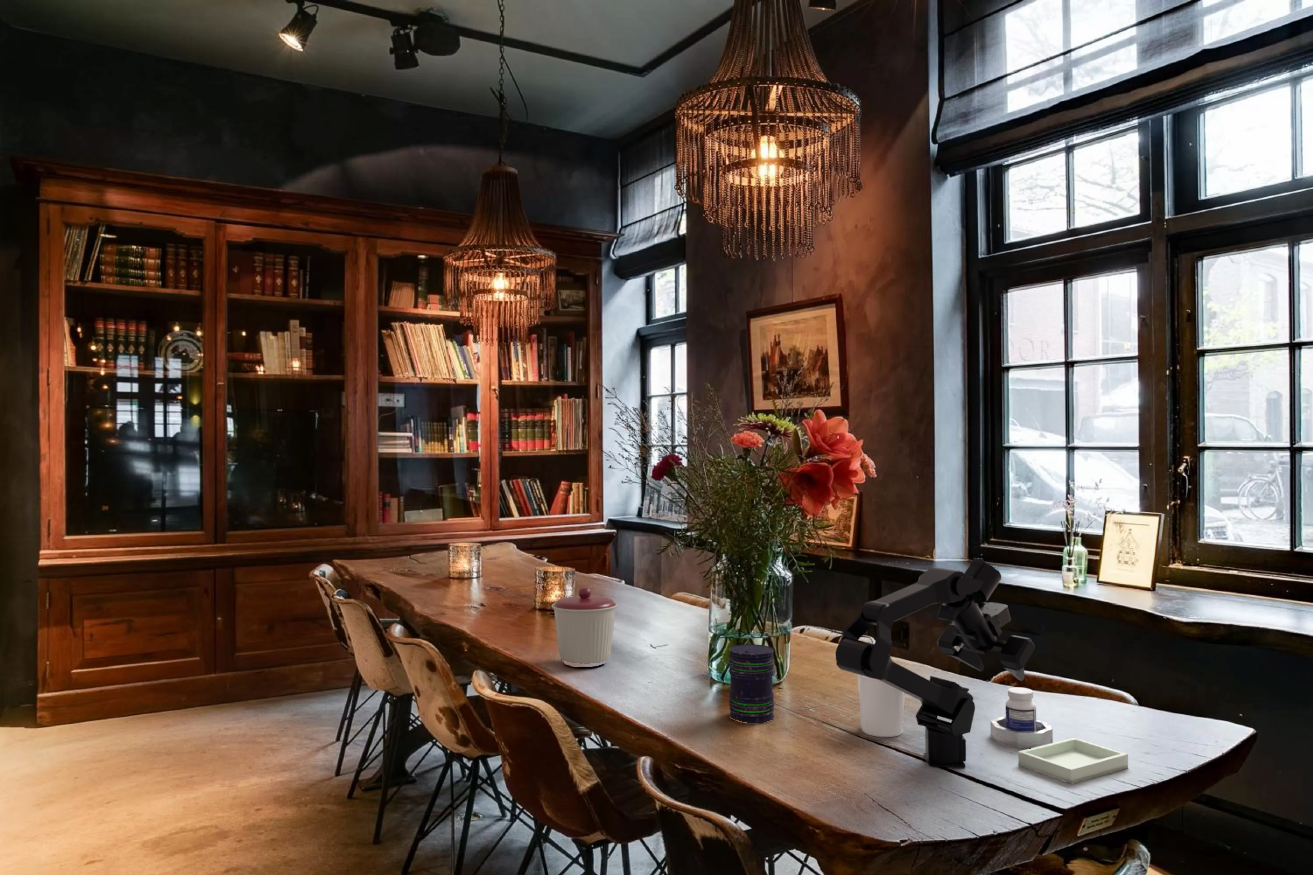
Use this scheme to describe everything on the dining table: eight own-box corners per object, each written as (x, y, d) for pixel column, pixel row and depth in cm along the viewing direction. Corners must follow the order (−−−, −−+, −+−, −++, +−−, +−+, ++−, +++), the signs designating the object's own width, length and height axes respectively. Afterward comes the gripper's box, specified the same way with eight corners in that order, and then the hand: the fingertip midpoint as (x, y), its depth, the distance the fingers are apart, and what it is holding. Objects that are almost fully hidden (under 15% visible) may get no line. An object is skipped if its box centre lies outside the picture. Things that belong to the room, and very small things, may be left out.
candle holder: (848, 727, 189) (847, 670, 189) (886, 721, 193) (885, 665, 193) (877, 740, 180) (876, 680, 180) (916, 734, 184) (915, 675, 184)
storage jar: (738, 708, 203) (738, 642, 204) (780, 714, 199) (779, 646, 199) (722, 720, 194) (721, 651, 195) (765, 726, 190) (765, 655, 190)
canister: (538, 663, 247) (538, 587, 248) (590, 653, 260) (590, 580, 260) (578, 675, 234) (578, 594, 234) (631, 664, 246) (631, 587, 246)
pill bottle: (1011, 733, 185) (1010, 684, 185) (1040, 738, 181) (1039, 689, 181) (1001, 740, 180) (1001, 690, 180) (1031, 746, 177) (1030, 695, 177)
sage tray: (1071, 784, 156) (1071, 769, 156) (1018, 764, 166) (1018, 751, 166) (1128, 767, 164) (1127, 753, 164) (1074, 750, 174) (1073, 737, 174)
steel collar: (1000, 747, 176) (1000, 732, 176) (986, 730, 187) (986, 715, 187) (1058, 749, 175) (1057, 733, 175) (1040, 731, 185) (1040, 717, 185)
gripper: (1031, 595, 168) (1063, 652, 173) (949, 583, 183) (981, 635, 189) (1003, 639, 163) (1037, 696, 168) (921, 623, 179) (955, 676, 184)
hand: (1001, 674), depth 178 cm, fingers open, 9 cm apart
